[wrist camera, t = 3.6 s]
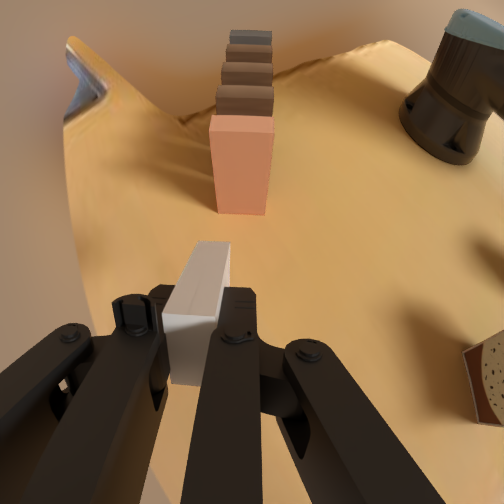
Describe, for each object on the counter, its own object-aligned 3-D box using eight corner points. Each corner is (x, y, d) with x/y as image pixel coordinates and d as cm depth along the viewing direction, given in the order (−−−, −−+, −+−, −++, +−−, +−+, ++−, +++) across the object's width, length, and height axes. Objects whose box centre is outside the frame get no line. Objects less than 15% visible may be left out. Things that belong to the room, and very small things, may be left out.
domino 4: (223, 167, 36) (218, 85, 25) (265, 169, 36) (273, 86, 25) (221, 180, 35) (215, 97, 24) (265, 182, 35) (273, 99, 24)
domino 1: (232, 100, 42) (231, 29, 31) (266, 101, 42) (271, 31, 31) (230, 108, 41) (229, 35, 30) (266, 109, 41) (271, 37, 30)
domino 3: (226, 141, 38) (223, 62, 27) (265, 142, 38) (272, 63, 27) (225, 152, 37) (221, 71, 26) (265, 153, 37) (273, 73, 26)
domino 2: (229, 118, 40) (227, 44, 29) (265, 120, 40) (272, 45, 29) (228, 128, 39) (225, 51, 28) (265, 129, 39) (272, 53, 28)
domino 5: (219, 198, 34) (211, 115, 23) (265, 200, 34) (274, 117, 23) (218, 213, 33) (208, 131, 22) (264, 215, 33) (274, 133, 22)
